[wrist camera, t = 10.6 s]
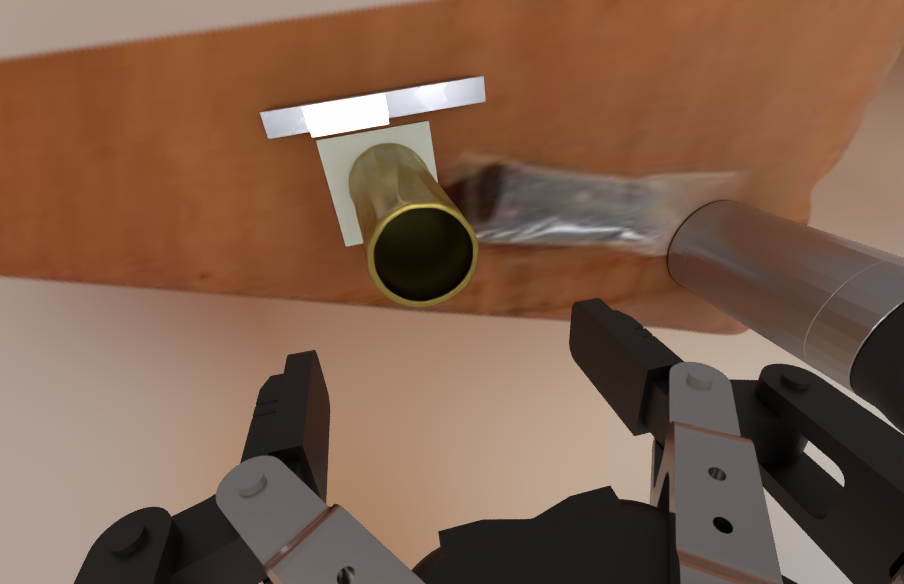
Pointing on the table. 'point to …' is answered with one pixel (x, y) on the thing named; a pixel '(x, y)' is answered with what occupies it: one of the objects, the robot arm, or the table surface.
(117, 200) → the table surface
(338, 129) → the price rail
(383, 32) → the table surface
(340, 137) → the pad
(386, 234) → the vase
